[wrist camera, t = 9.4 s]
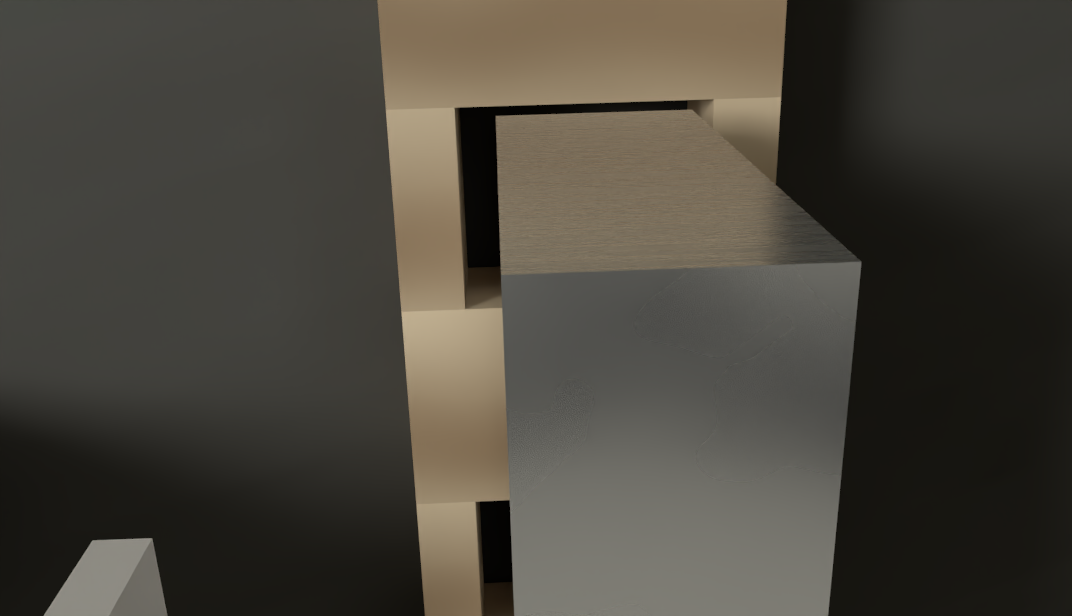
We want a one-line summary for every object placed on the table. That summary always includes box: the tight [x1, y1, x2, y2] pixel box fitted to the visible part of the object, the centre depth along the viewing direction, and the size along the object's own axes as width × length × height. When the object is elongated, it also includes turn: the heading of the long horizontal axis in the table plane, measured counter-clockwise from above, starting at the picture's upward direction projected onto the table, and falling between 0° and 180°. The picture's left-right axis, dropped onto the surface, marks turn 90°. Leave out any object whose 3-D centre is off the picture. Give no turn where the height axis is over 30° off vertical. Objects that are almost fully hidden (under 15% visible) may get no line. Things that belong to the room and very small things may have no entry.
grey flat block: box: [496, 110, 861, 616], centre depth 17 cm, size 12×3×12 cm, turn 1°
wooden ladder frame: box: [378, 0, 787, 616], centre depth 21 cm, size 20×7×2 cm, turn 1°
